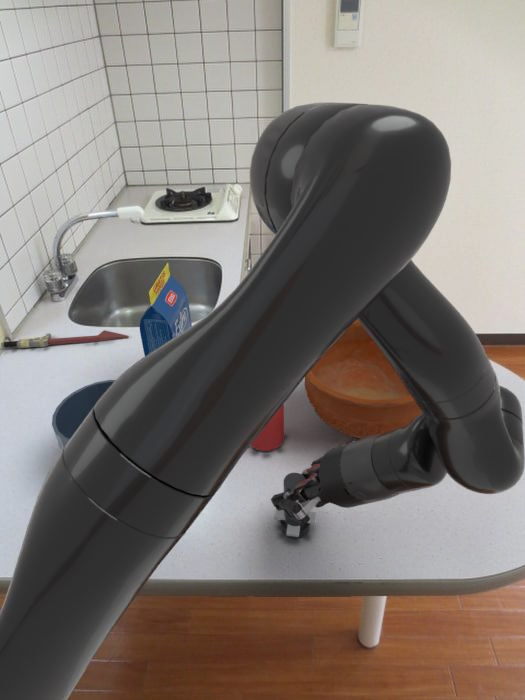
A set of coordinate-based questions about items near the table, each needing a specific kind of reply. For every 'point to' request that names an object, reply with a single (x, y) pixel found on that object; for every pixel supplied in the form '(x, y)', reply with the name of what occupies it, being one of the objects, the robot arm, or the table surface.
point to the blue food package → (164, 313)
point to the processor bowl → (76, 410)
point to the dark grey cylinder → (286, 524)
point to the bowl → (359, 388)
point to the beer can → (271, 433)
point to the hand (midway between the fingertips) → (283, 494)
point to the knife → (61, 340)
